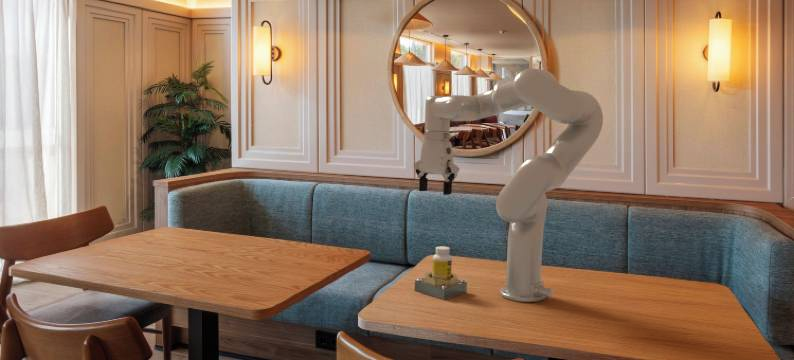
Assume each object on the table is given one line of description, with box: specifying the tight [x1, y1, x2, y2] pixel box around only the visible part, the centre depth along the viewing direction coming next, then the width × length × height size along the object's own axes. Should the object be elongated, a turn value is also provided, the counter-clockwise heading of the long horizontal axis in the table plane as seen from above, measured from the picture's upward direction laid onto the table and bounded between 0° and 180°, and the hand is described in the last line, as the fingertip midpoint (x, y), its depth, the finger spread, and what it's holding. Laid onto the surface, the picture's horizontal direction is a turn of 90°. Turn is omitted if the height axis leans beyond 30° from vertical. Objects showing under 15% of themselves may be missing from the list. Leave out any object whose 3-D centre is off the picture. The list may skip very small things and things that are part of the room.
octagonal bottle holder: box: [414, 271, 468, 301], centre depth 169 cm, size 11×10×5 cm
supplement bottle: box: [431, 245, 453, 279], centre depth 169 cm, size 5×5×10 cm
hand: (435, 192), depth 182 cm, fingers open, 9 cm apart
